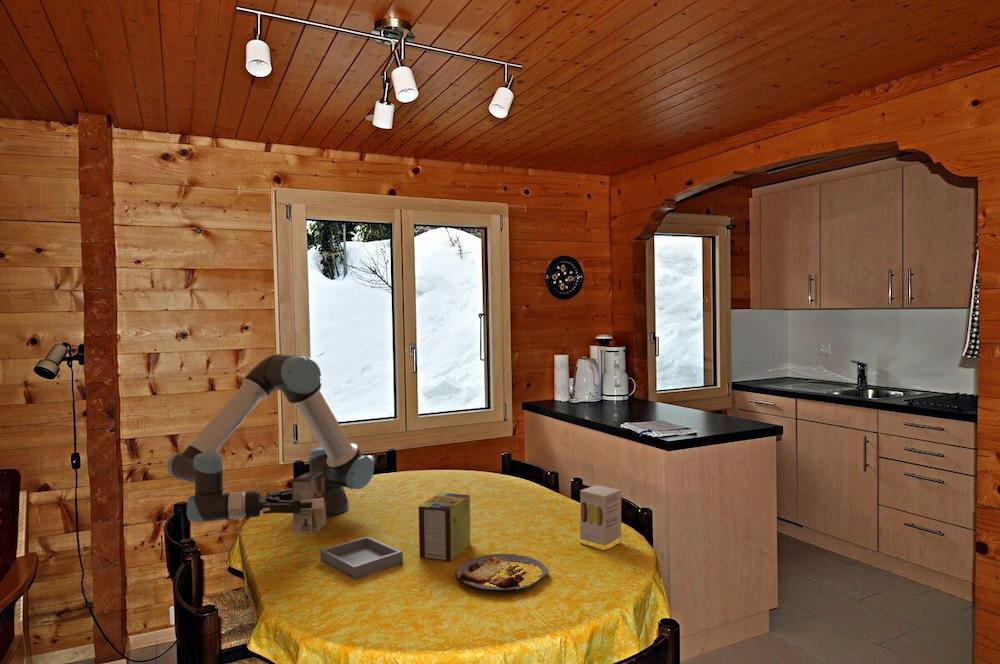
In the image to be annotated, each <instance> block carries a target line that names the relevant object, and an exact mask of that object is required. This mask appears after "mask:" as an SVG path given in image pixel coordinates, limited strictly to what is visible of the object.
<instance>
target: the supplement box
mask: <svg viewBox="0 0 1000 664" xmlns="http://www.w3.org/2000/svg"><path fill="white" fill-rule="evenodd" d="M579 496H580V503H579V504H580V507H579V508H580V511H579V513H580V514H579V515H580V516H579V517H580V518H579V519H580V521H579V523H580V524H579V531H580V533H579V540H580V539H582V540H586V541H590V542H593V543H597V544H601V545H604V546H605V545H607V544H609V543H611V542H613V541H615V540H616V539H618V538H620V537H621V538H622V490H621V489H617V488H614V487H613V488H612V487H609V486H604V485H599V484H595V485H592V486H590V487H586V488H583V489H581V490H580V495H579Z"/></svg>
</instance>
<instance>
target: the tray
mask: <svg viewBox="0 0 1000 664" xmlns="http://www.w3.org/2000/svg"><path fill="white" fill-rule="evenodd" d="M403 552H404V551H403V550H400V549H398V548H395V547H393V546H391V545H388V544H386V543H384V542H381V541H379V540H378V539H374V538H372V537H369V536H368V535H367V536H365V537H360V538H357V539H354V540H351V541H348V542H344V543H340V544H337V545H334V546H330V547H327V548H324V549H320V551H319V557H320V558H319V560H320V561H319V562H320V563H321V562H322V563H321V564H323V563H324V564H323V565H325V564H326V565H325V566H327V565H328V566H327V567H329V566H330V567H329V568H331V567H332V568H334V569H336V570H338V571H339V572H338V571H337V572H338V573H340V572H341V573H340V574H342V573H343V574H342V575H344V574H345V575H344V576H346V575H347V576H346V577H348V576H349V577H348V578H350V577H351V578H353V579H356V580H358V578H359V579H361V577H362V578H364V577H363V576H365V577H367V576H366V575H368V576H370V575H369V574H371V575H373V574H372V573H374V574H376V573H379V572H382V571H384V570H388V569H390V568H394V567H397V566H399V565H403V564H404V562H403V561H404V559H403V558H404V557H403V556H404V554H403ZM332 568H331V569H332ZM334 569H333V570H334ZM336 570H335V571H336ZM378 571H379V572H378ZM375 572H376V573H375ZM351 578H350V579H351ZM353 579H352V580H353Z"/></svg>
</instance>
